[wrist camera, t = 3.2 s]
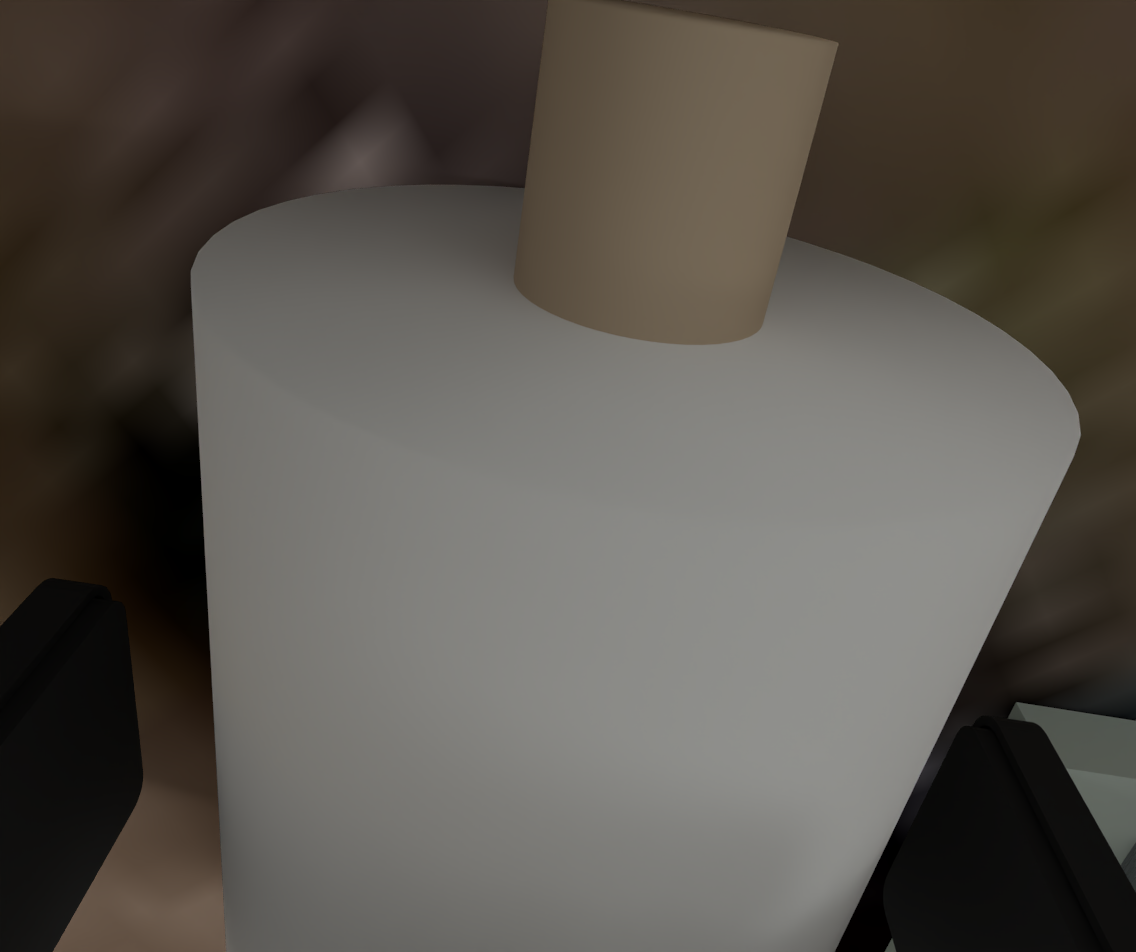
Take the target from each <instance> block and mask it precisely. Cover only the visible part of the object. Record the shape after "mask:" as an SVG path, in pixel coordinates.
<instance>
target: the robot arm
mask: <svg viewBox="0 0 1136 952" xmlns="http://www.w3.org/2000/svg"><path fill="white" fill-rule="evenodd" d="M142 782H143V767H142V757H141V748H140V739H139V730H138V720H137V711H136V702H135V692H134V683H133V674H132V665H131V655H130V646H129V637H128V628H127V618H126V611H125V607H124V605H123V604H122V603H121V602H118V601H112V598H111V594H110V592H109V590H108V589H107V587H105V586H102V585H96V584H89V583H82V582H75V581H68V580H62V579H55V578H50V579H47V580H45V581H43V582H42V583H41V584H40V585H38V586H37V588H36V589H35V590H34V591H33V592H32V593H31V594H30V595H29V596H28V597H27V598H26V599H25V600H24V602H23V603H22V604H21V605H20V606H19V607H18V608H17V609H16V610H15V611H14V612H13V613H12V614H11V616H10V617H9V618H8V619H7V620H6V621H5V622H4V623H3V624H2V625H1V626H0V952H53V950H54V948H55V947H56V945H57V943H58V941H59V940H60V938H61V936H62V934H63V933H64V931H65V929H66V927H67V926H68V924H69V922H70V920H71V919H72V917H73V915H74V913H75V911H76V910H77V908H78V906H79V904H80V903H81V901H82V899H83V897H84V896H85V894H86V892H87V890H88V889H89V887H90V885H91V883H92V882H93V880H94V878H95V876H96V875H97V873H98V871H99V869H100V868H101V866H102V864H103V862H104V861H105V859H106V857H107V855H108V853H109V852H110V850H111V848H112V846H113V845H114V843H115V841H116V839H117V838H118V836H119V834H120V832H121V831H122V829H123V827H124V825H125V824H126V822H127V820H128V818H129V817H130V815H131V813H132V811H133V809H134V807H135V805H136V803H137V801H138V798H139V795H140V792H141V788H142ZM883 904H884V910H885V915H886V918H887V922H888V925H889V929H890V932H891V936H892V939H893V943H894V946H895V950H896V952H1136V892H1135V890H1134V888H1133V886H1132V885H1131V883H1130V881H1129V879H1128V878H1127V876H1126V874H1125V872H1124V870H1123V869H1122V867H1121V865H1120V863H1119V862H1118V860H1117V858H1116V856H1115V855H1114V853H1113V851H1112V849H1111V847H1110V846H1109V844H1108V842H1107V840H1106V839H1105V837H1104V835H1103V833H1102V831H1101V830H1100V828H1099V826H1098V824H1097V823H1096V821H1095V819H1094V817H1093V816H1092V814H1091V812H1090V810H1089V808H1088V807H1087V805H1086V803H1085V801H1084V800H1083V798H1082V796H1081V794H1080V792H1079V791H1078V789H1077V787H1076V785H1075V784H1074V782H1073V780H1072V778H1071V777H1070V775H1069V773H1068V771H1067V769H1066V768H1065V766H1064V764H1063V762H1062V761H1061V759H1060V757H1059V755H1058V753H1057V752H1056V750H1055V748H1054V746H1053V745H1052V743H1051V741H1050V739H1049V737H1048V736H1047V734H1046V733H1045V731H1044V730H1043V729H1042V727H1041V726H1039V725H1038V724H1036V723H1034V722H1027V721H1020V720H1014V719H1007V718H1000V717H993V716H981V717H980V718H978V719H977V720H976V721H975V723H974V724H973V725H972V727H971V726H964V727H962V728H961V729H960V730H959V732H958V733H957V735H956V737H955V739H954V741H953V743H952V745H951V747H950V749H949V751H948V753H947V755H946V757H945V759H944V761H943V763H942V765H941V767H940V769H939V771H938V773H937V775H936V777H935V779H934V781H933V783H932V785H931V787H930V789H929V791H928V793H927V795H926V797H925V799H924V801H923V803H922V805H921V807H920V809H919V811H918V814H917V816H916V818H915V820H914V822H913V824H912V826H911V828H910V830H909V832H908V834H907V836H906V838H905V840H904V842H903V844H902V846H901V848H900V850H899V852H898V854H897V856H896V858H895V860H894V862H893V864H892V866H891V868H890V870H889V872H888V874H887V876H886V879H885V883H884V888H883Z"/></svg>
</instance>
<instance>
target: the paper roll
mask: <svg viewBox="0 0 1136 952" xmlns="http://www.w3.org/2000/svg"><path fill="white" fill-rule="evenodd" d="M838 44H839V43H837V42H835V41H831V40H828V39H824V38H820V37H816V36H812V35H807V34H803V33H798V32H793V31H789V30H784V29H779V28H774V27H769V26H764V25H759V24H754V23H749V22H743V21H738V20H733V19H727V18H722V17H716V16H711V15H705V14H700V13H694V12H688V11H683V10H677V9H671V8H665V7H659V6H653V5H647V4H641V3H635V2H628V1H622V0H548V7H547V15H546V23H545V31H544V39H543V47H542V55H541V63H540V71H539V79H538V87H537V94H536V102H535V110H534V118H533V126H532V134H531V142H530V150H529V158H528V166H527V174H526V182H525V188H515V187H502V186H479V185H402V186H383V187H371V188H360V189H350V190H343V191H336V192H329V193H322V194H317V195H312V196H308V197H303V198H298V199H294V200H289V201H286V202H282V203H279V204H276V205H273V206H270V207H266V208H263V209H260V210H257V211H255V212H253V213H251V214H249V215H246V216H244V217H242V218H240V219H238V220H235V221H233V222H232V223H230V224H229V225H227V226H226V227H224V228H223V229H222V230H220V231H219V232H217V233H216V234H214V235H213V236H212V237H211V238H210V239H209V240H208V242H207V243H206V244H205V245H204V246H203V247H202V248H201V249H200V250H199V252H198V254H197V256H196V259H195V261H194V264H193V266H192V269H191V299H192V317H193V336H194V355H195V374H196V393H197V411H198V430H199V449H200V468H201V486H202V505H203V524H204V543H205V562H206V580H207V599H208V618H209V637H210V656H211V674H212V693H213V712H214V731H215V749H216V768H217V787H218V806H219V825H220V843H221V862H222V881H223V900H224V919H225V937H226V952H835V950H836V948H837V946H838V944H839V942H840V940H841V938H842V936H843V933H844V931H845V929H846V927H847V925H848V923H849V921H850V919H851V917H852V915H853V913H854V911H855V909H856V907H857V905H858V902H859V900H860V898H861V896H862V894H863V892H864V890H865V888H866V886H867V884H868V882H869V880H870V878H871V876H872V873H873V871H874V869H875V867H876V865H877V863H878V861H879V859H880V857H881V855H882V853H883V851H884V849H885V847H886V844H887V842H888V840H889V838H890V836H891V834H892V832H893V830H894V828H895V826H896V824H897V822H898V820H899V818H900V816H901V813H902V811H903V809H904V807H905V805H906V803H907V801H908V799H909V797H910V795H911V793H912V791H913V789H914V787H915V784H916V782H917V780H918V778H919V776H920V774H921V772H922V770H923V768H924V766H925V764H926V762H927V760H928V758H929V755H930V753H931V751H932V749H933V747H934V745H935V743H936V741H937V739H938V737H939V735H940V733H941V731H942V729H943V727H944V724H945V722H946V720H947V718H948V716H949V714H950V712H951V710H952V708H953V706H954V704H955V702H956V700H957V698H958V695H959V693H960V691H961V689H962V687H963V685H964V683H965V681H966V679H967V677H968V675H969V673H970V671H971V669H972V667H973V664H974V662H975V660H976V658H977V656H978V654H979V652H980V650H981V648H982V646H983V644H984V642H985V640H986V638H987V635H988V633H989V631H990V629H991V627H992V625H993V623H994V621H995V619H996V617H997V615H998V613H999V611H1000V609H1001V606H1002V604H1003V602H1004V600H1005V598H1006V596H1007V594H1008V592H1009V590H1010V588H1011V586H1012V584H1013V582H1014V580H1015V578H1016V575H1017V573H1018V571H1019V569H1020V567H1021V565H1022V563H1023V561H1024V559H1025V557H1026V555H1027V553H1028V551H1029V549H1030V546H1031V544H1032V542H1033V540H1034V538H1035V536H1036V534H1037V532H1038V530H1039V528H1040V526H1041V524H1042V522H1043V520H1044V517H1045V515H1046V513H1047V511H1048V509H1049V507H1050V505H1051V503H1052V501H1053V499H1054V497H1055V495H1056V493H1057V491H1058V489H1059V486H1060V484H1061V482H1062V480H1063V478H1064V476H1065V474H1066V472H1067V470H1068V468H1069V466H1070V464H1071V462H1072V460H1073V457H1074V455H1075V452H1076V449H1077V446H1078V442H1079V439H1080V436H1081V432H1080V423H1079V414H1078V411H1077V409H1076V407H1075V405H1074V403H1073V401H1072V399H1071V397H1070V394H1069V392H1068V391H1067V390H1066V388H1065V387H1064V386H1063V384H1062V383H1061V382H1060V381H1059V379H1058V378H1057V377H1056V376H1055V374H1054V373H1053V372H1052V371H1051V370H1050V369H1049V368H1048V367H1047V366H1046V365H1045V364H1044V363H1043V362H1042V361H1041V360H1040V359H1039V358H1038V357H1036V356H1035V355H1034V354H1033V353H1032V352H1031V351H1030V350H1029V349H1027V348H1026V347H1025V346H1023V345H1022V344H1021V343H1019V342H1018V341H1017V340H1015V339H1014V338H1012V337H1011V336H1010V335H1008V334H1007V333H1006V332H1004V331H1003V330H1001V329H1000V328H998V327H996V326H995V325H993V324H992V323H990V322H988V321H987V320H985V319H984V318H982V317H980V316H979V315H977V314H976V313H974V312H972V311H970V310H968V309H966V308H964V307H962V306H961V305H959V304H957V303H955V302H953V301H951V300H949V299H948V298H946V297H944V296H942V295H939V294H937V293H935V292H933V291H931V290H929V289H927V288H924V287H922V286H920V285H918V284H916V283H914V282H912V281H909V280H907V279H905V278H902V277H900V276H897V275H895V274H892V273H890V272H888V271H885V270H883V269H880V268H878V267H875V266H873V265H870V264H867V263H865V262H862V261H859V260H856V259H854V258H851V257H848V256H845V255H843V254H840V253H837V252H834V251H831V250H828V249H825V248H822V247H819V246H816V245H813V244H809V243H806V242H803V241H800V240H797V239H793V238H790V237H787V233H788V229H789V225H790V222H791V218H792V214H793V211H794V207H795V203H796V200H797V196H798V192H799V188H800V185H801V181H802V177H803V174H804V170H805V166H806V163H807V159H808V155H809V151H810V148H811V144H812V140H813V137H814V133H815V129H816V126H817V122H818V118H819V114H820V111H821V107H822V103H823V100H824V96H825V92H826V89H827V85H828V81H829V78H830V74H831V70H832V66H833V63H834V59H835V55H836V52H837V48H838Z"/></svg>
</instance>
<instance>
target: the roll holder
mask: <svg viewBox="0 0 1136 952" xmlns="http://www.w3.org/2000/svg"><path fill="white" fill-rule="evenodd" d="M1007 719H1014V720H1020V721H1027V722H1034V723H1036V724H1038V725H1039V726H1041V727H1042V729H1043V730H1044V731H1045V733H1046V734H1047V736H1048V737H1049V739H1050V741H1051V743H1052V745H1053V746H1054V748H1055V750H1056V752H1057V753H1058V755H1059V757H1060V759H1061V761H1062V762H1063V764H1064V766H1065V768H1066V769H1067V771H1068V773H1069V775H1070V777H1071V778H1072V780H1073V782H1074V784H1075V785H1076V787H1077V789H1078V791H1079V792H1080V794H1081V796H1082V798H1083V800H1084V801H1085V803H1086V805H1087V807H1088V808H1089V810H1090V812H1091V814H1092V816H1093V817H1094V819H1095V821H1096V823H1097V824H1098V826H1099V828H1100V830H1101V831H1102V833H1103V835H1104V837H1105V839H1106V840H1107V842H1108V844H1109V846H1110V847H1111V849H1112V851H1113V853H1114V855H1115V856H1116V858H1117V860H1118V862H1119V863H1120V865H1121V867H1122V869H1123V870H1124V872H1125V874H1126V876H1127V878H1128V879H1129V881H1130V883H1131V885H1132V886H1133V888H1134V890H1135V892H1136V721H1134V720H1127V719H1121V718H1115V717H1108V716H1102V715H1095V714H1089V713H1083V712H1076V711H1070V710H1063V709H1057V708H1051V707H1044V706H1038V705H1031V704H1025V703H1019V702H1016V703H1015V705H1014V707H1013V709H1012V711H1011V713H1010V715H1009V717H1008V718H1007ZM885 952H896V950H895V946H894V943H893V939H891V941H890V943H889V945H888V947H887V948H886V950H885Z"/></svg>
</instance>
